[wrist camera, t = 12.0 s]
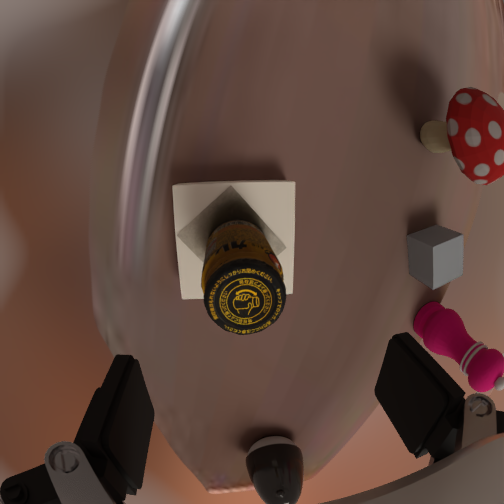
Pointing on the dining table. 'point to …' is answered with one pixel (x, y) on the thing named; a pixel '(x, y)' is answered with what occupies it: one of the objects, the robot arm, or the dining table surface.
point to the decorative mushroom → (470, 135)
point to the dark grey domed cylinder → (276, 470)
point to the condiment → (237, 264)
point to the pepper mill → (459, 346)
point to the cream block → (259, 199)
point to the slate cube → (435, 255)
